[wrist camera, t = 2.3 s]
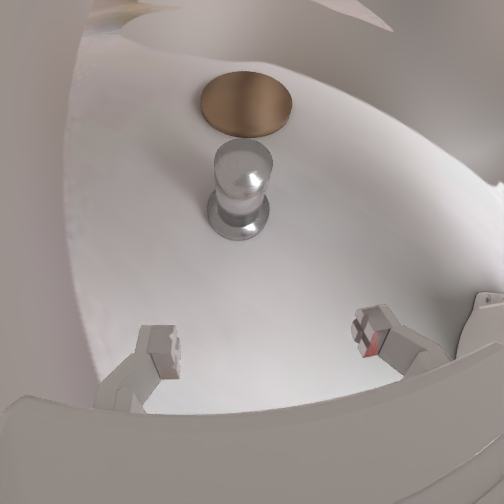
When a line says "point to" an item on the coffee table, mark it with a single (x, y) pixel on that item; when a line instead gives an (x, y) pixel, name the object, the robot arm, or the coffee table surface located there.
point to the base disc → (246, 104)
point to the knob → (240, 189)
